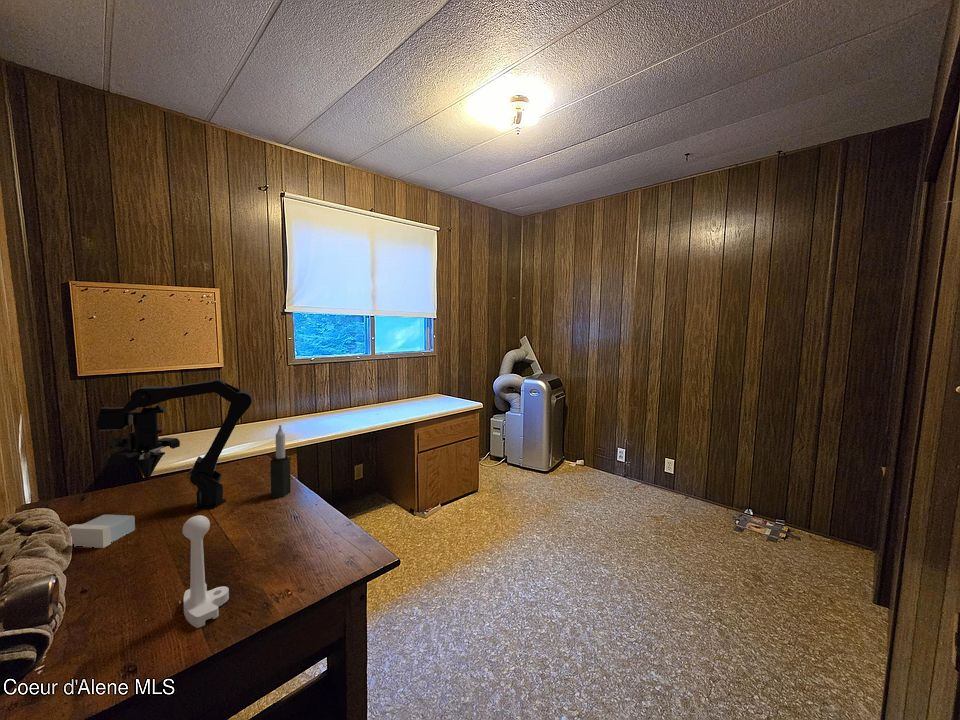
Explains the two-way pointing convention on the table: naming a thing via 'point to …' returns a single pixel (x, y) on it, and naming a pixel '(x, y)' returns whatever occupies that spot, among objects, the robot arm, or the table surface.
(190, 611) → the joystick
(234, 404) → the robot arm
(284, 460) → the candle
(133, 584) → the table surface
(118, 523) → the sled
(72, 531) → the wall
